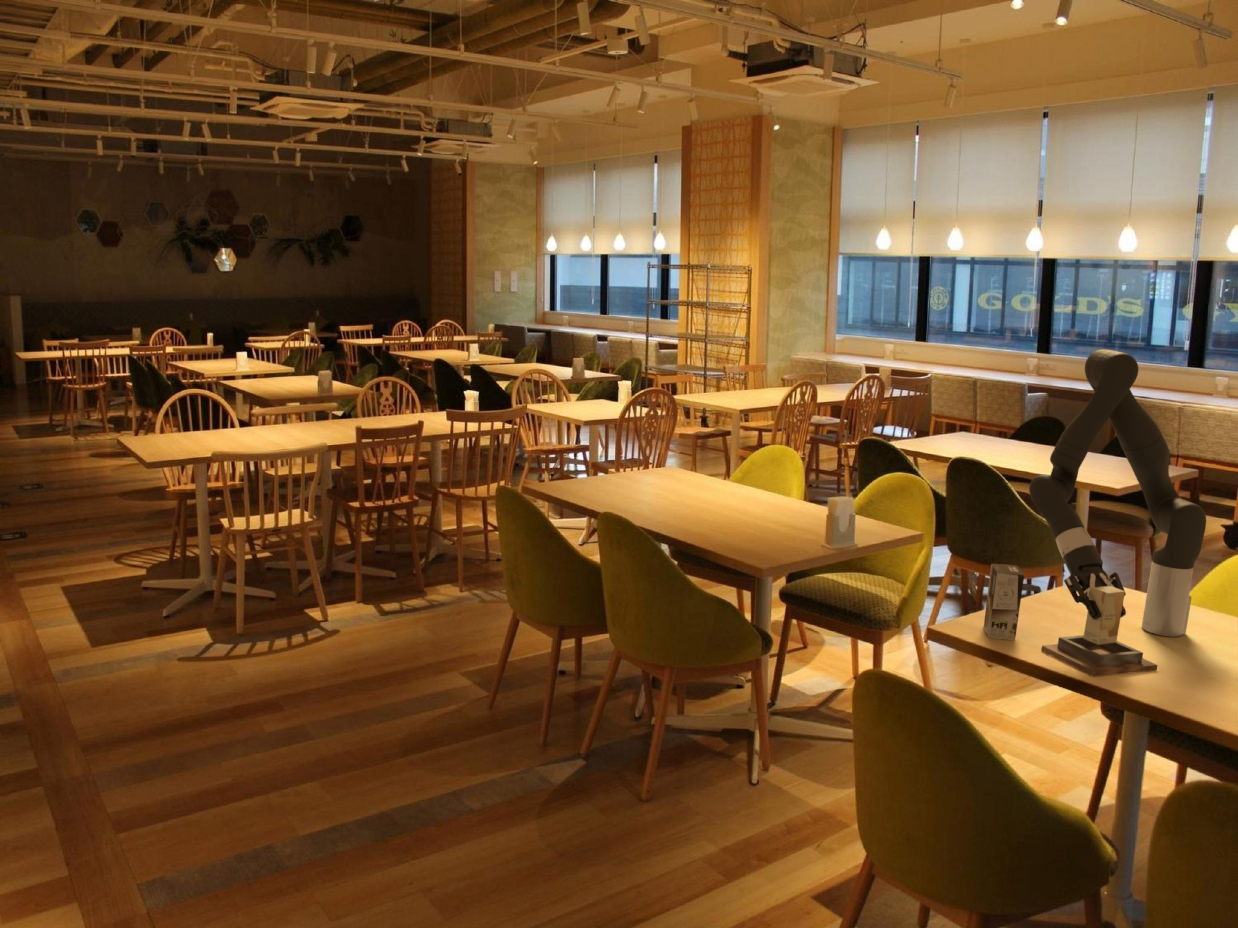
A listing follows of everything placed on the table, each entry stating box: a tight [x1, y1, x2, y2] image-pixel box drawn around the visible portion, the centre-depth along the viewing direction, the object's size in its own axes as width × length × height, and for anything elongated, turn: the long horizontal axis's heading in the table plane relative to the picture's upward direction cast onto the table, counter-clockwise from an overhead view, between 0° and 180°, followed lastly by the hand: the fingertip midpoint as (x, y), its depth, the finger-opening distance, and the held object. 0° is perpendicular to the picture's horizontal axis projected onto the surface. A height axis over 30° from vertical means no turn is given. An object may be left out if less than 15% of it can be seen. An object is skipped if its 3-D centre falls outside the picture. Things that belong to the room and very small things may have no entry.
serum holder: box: [1041, 634, 1159, 678], centre depth 243 cm, size 18×16×4 cm
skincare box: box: [1083, 586, 1126, 645], centre depth 241 cm, size 6×4×12 cm
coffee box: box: [983, 563, 1025, 642], centre depth 256 cm, size 9×6×16 cm
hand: (1109, 616), depth 240 cm, fingers closed on skincare box, 6 cm apart
